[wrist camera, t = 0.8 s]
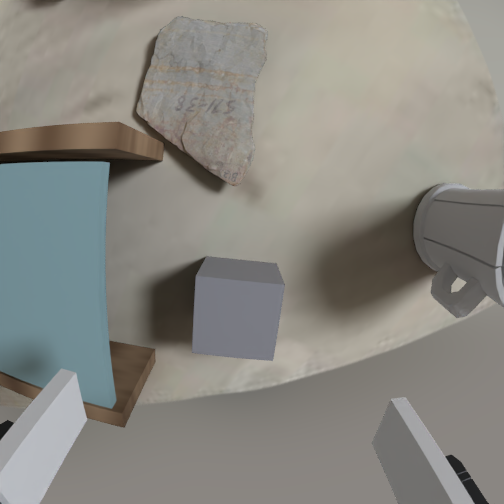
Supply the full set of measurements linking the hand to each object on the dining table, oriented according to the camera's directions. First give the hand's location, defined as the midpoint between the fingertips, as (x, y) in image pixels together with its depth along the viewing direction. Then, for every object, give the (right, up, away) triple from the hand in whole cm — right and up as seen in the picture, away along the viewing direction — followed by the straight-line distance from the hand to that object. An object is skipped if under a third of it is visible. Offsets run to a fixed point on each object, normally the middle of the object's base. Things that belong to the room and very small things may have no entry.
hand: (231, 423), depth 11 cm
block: (0, +3, +16) cm, 17 cm away
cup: (+20, +8, +16) cm, 27 cm away
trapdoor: (-19, +6, +8) cm, 22 cm away
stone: (-2, +21, +13) cm, 25 cm away
